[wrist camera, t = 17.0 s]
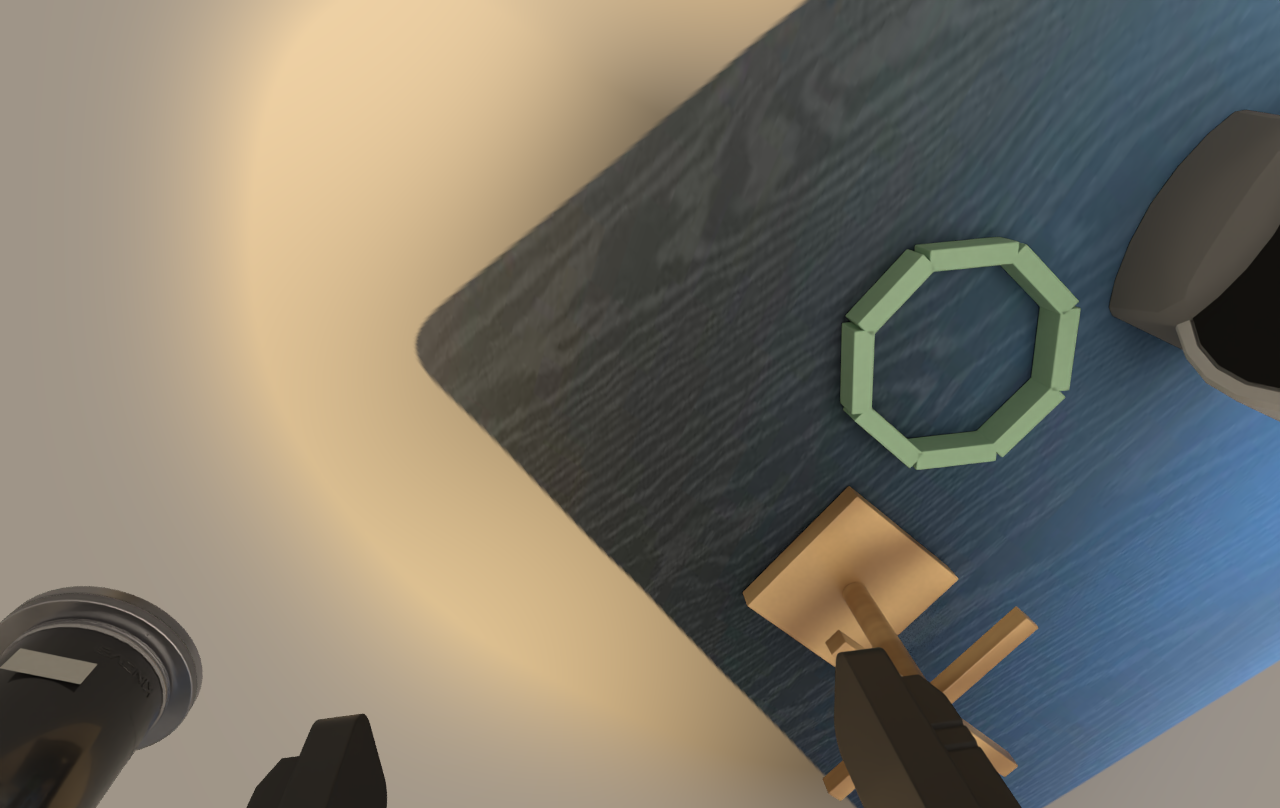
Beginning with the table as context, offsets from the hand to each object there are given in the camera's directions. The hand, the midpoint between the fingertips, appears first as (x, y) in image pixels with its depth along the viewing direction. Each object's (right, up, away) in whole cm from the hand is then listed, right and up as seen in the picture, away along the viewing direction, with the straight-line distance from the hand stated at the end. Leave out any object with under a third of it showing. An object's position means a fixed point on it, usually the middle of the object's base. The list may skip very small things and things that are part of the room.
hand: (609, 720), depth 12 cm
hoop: (+19, +9, +31) cm, 37 cm away
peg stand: (+14, -6, +36) cm, 39 cm away
